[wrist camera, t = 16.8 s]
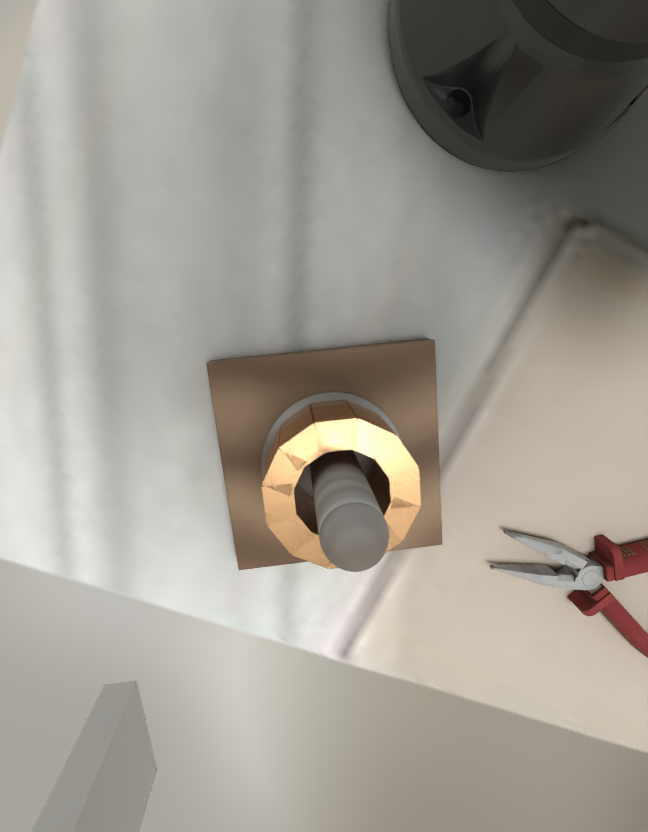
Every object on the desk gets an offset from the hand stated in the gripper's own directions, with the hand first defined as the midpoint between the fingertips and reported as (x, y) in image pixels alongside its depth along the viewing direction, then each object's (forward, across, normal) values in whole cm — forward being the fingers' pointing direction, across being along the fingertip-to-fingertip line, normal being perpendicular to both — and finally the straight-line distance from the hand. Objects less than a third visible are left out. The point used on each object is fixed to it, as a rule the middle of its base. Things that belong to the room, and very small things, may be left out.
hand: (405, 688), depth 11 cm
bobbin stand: (+20, 0, 0) cm, 20 cm away
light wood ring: (+18, 0, 0) cm, 18 cm away
